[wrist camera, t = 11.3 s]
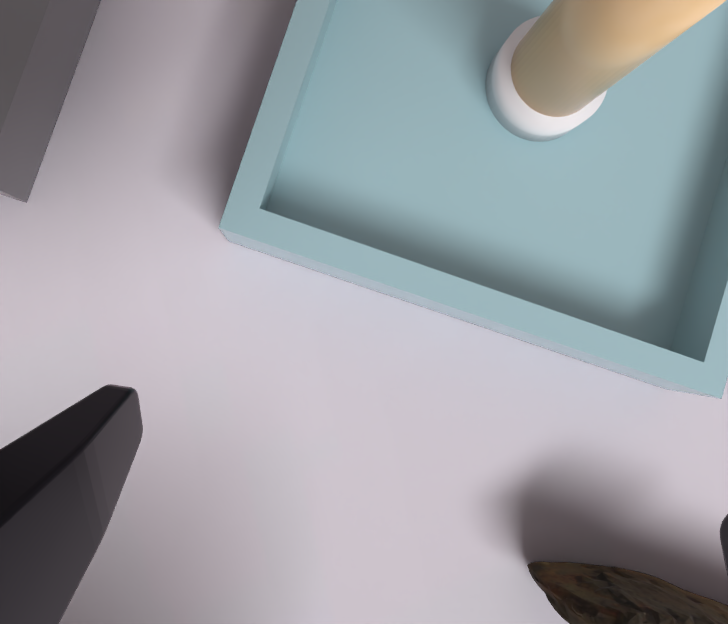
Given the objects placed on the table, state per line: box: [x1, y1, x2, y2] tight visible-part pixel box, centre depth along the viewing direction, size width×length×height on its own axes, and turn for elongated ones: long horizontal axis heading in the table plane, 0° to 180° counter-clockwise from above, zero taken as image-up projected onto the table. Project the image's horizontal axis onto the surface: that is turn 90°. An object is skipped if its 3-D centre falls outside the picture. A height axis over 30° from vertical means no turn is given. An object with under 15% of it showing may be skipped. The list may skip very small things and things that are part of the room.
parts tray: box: [219, 0, 728, 399], centre depth 22 cm, size 18×18×3 cm
